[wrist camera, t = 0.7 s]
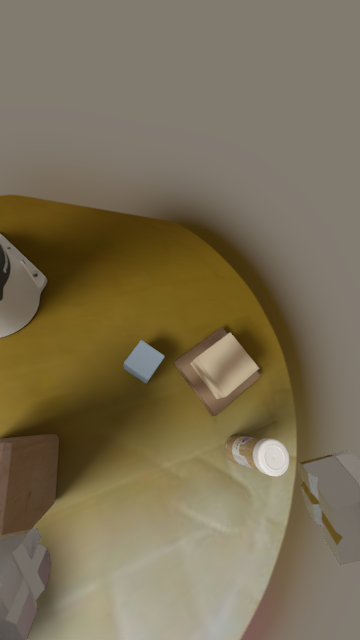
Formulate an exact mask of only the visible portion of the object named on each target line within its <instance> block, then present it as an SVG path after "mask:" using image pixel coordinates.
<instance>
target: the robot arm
mask: <svg viewBox="0 0 360 640" xmlns="http://www.w3.org/2000/svg"><path fill="white" fill-rule="evenodd" d="M35 275H38V276H37V277H34V276H35ZM46 284H47V278H46V277H45V275H44V274H43V273H42V272H40V271H39V270H38V269H37V268H36V267H35V266H34V265H33V264H32V263H31V262H30V261H29V260H28V259H27V258H26V257H25V256H24V255H23V254H22V253H21V252H19V251H18V250H17V249H16V248H15V247H14V246H13V245H12V244H11V243H10V242H9V241H8V240H7V239H6V238H5V237H4V236H3V235H2V234H0V337H4V336H8V335H10V334H13V333H15V332H17V331H18V330H20V329H21V328H23V327H24V326H25V325H26V324H28V323H29V321H30V320H31V319H32V318H33V316H34V315H35V313H36V311H37V309H38V306H39V301H40V294H41V292H42V290H43V289H44V287H45V286H46ZM298 468H299V474H300V475H301V477H302V479H303V480H304V482H303V483H302V485H301V487H302V492H303V496H304V499H305V502H306V505H307V507H308V509H309V512H310V514H311V515H312V517H313V519H314V521H315V522H316V523H317V524H319V525H320V526H322V527H323V532H324V538H325V540H326V542H327V544H328V545H329V547H330V549H331V551H332V552H333V554H334V556H335V557H336V559H337V561H338V563H339V564H340V565H342V564H347V563H351V562H356V561H360V461H359V460H358V459H357V458H356V457H355V456H354V454H353V453H351V452H350V451H348V450H346V451H343V452H339V453H335V454H331V455H327V456H323V457H319V458H316V459H312V460H308V461H304V462H300V463H299V465H298ZM40 540H41V535H40V533H39V531H38V529H28V530H23V531H19V532H14V533H10V534H5V535H1V536H0V640H26V639H27V637H28V634H29V631H30V628H31V626H32V623H33V620H34V618H35V615H36V612H37V609H38V608H37V603H36V599H37V598H38V597H39V595H40V594H41V593H42V592H43V591H44V589H45V587H46V584H47V581H48V578H49V574H50V566H51V561H50V554H49V552H48V550H47V548H46V547H44V546H43V545H41V544H39V543H40Z"/></svg>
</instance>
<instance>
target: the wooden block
mask: <svg viewBox="0 0 360 640" xmlns="http://www.w3.org/2000/svg"><path fill="white" fill-rule="evenodd" d="M58 452H59V437H58V435H56V434H42V435H32V436H22V437H12V438H2V439H0V536H1V535H5V534H10V533H14V532H19V531H23V530H28V529H31V528H32V527H33V526H34V525H35V524H36V523H37V522H38V521H39V520H40V518H41V517H42V516H43V515H44V514H45V513H46V512H47V511H48V510H49V508H50V507H51V506H52V505H53V504H54V501H55V499H56V486H57V469H58Z"/></svg>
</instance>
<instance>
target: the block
mask: <svg viewBox="0 0 360 640" xmlns="http://www.w3.org/2000/svg"><path fill="white" fill-rule="evenodd" d="M164 357H165V356H164V355H162V354H161V353H160V352H158V351H157V350H155V349H154V348H152V347H151V346H149V345H148V344H146V343H145V342H143V341H142V340H141V341H140V342H139V344H138V345H137V346H136V348H135V349H134V350H133V352H132V353H131V354H130V356H129V357H128V358H127V360H126V361H125V362H124V369H125V370H126V371H128V372H129V373H131V374H132V375H133V376H135V377H136V378H138V379H139V380H141V381H142V382H144V383H145V384H147V382H148V381H149V379H150V378H151V376H152V375H153V374H154V372H155V371H156V369H157V368H158V366H159V365H160V363H161V362H162V360H163V358H164Z"/></svg>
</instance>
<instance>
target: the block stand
mask: <svg viewBox="0 0 360 640" xmlns="http://www.w3.org/2000/svg"><path fill="white" fill-rule="evenodd" d="M174 365H175V366H176V367H177V369H178V370H179V371H180V373H181V374H182V375H183V377H184V378H185V380H186V381H187V382H188V384H189V385H190V386H191V388H192V389H193V390H194V392H195V393H196V395H197V396H198V397H199V399H200V400H201V401H202V403H203V404H204V405H205V407H206V408H207V410H208V411H209V412H210V414H211V415H212V416H216V415H217V414H218V413H219V412H220V411H222V410H223V409H224V408H225V407H226V406H227V405H228V404H229V403H231V402H232V401H233V400H234V399H235V398H236V397H237V396H239V395H240V394H241V393H242V392H243V391H244V390H245V389H247V388H248V387H249V386H250V385H251V384H252V383H253V382H255V381H256V380H257V379H258V378H259V377H260V376H261V375H260V374H259V373H258V371H257V370H258V369H259V367H258V366H257V365H256V364H255V363H254V361H253V360H252V359H251V358H250V356H249V355H248V354H247V353H246V351H245V350H244V349H243V348H242V346H241V345H240V344H239V343H238V341H237V340H236V339H235V338H234V336H233V335H232V334H231V333H229V334H227V333H226V331H225V330H224V329H223V327H221V328H220V329H219V330H217V331H216V332H214V333H213V334H212V335H210V336H209V337H208V338H206V339H205V340H203V341H202V342H201V343H199V344H198V345H196V346H195V347H194V348H192V349H191V350H190V351H188V352H187V353H185V354H184V355H183V356H181V357H180V358H178V359H177V360H176V361H175V362H174Z"/></svg>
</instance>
